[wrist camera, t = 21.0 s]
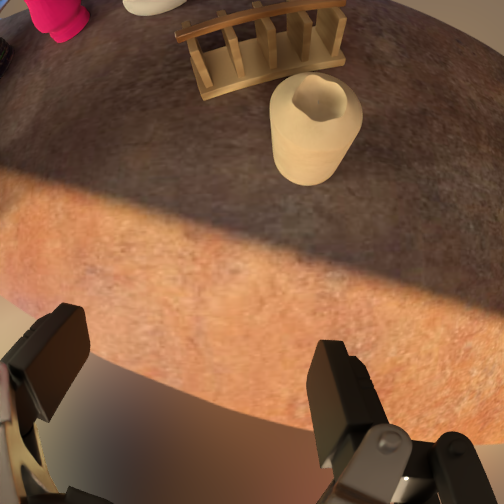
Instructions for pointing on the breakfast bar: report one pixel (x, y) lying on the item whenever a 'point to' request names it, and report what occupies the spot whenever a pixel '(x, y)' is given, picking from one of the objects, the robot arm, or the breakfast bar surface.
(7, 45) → the storage jar
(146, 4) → the donut
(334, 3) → the toast rack
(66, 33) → the pepper mill
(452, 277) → the breakfast bar surface
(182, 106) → the breakfast bar surface
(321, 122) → the candle
